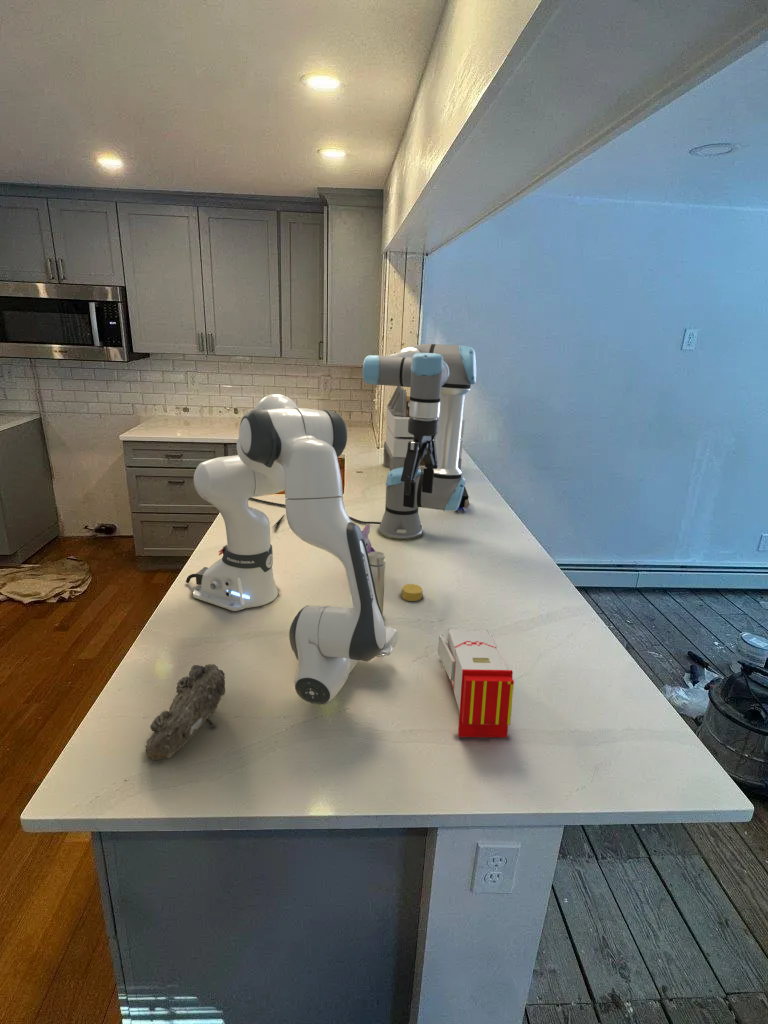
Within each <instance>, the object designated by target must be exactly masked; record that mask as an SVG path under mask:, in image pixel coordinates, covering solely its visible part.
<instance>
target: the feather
mask: <svg viewBox="0 0 768 1024" xmlns="http://www.w3.org/2000/svg"><path fill="white" fill-rule="evenodd" d="M285 515H286V513H285V514H283V515H282V516H281V518H279V519H278V521H277V522H276V523H275V524H274V525H273V526H272V527H270V530H271V529H273V528H275V530H274V531H275V532H276V531H277V530H278V528H279V526H280V524H281V522H282V520H283V519H284V516H285Z"/></svg>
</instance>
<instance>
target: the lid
mask: <svg viewBox="0 0 768 1024" xmlns="http://www.w3.org/2000/svg"><path fill="white" fill-rule="evenodd" d="M401 598H402V599H403V600H405V601H407V602H417V601H418V602H419V601H420V600H421V599H423V587H422V586H420V585H418V584H414V583H408V584H404V585H402V587H401Z"/></svg>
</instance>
